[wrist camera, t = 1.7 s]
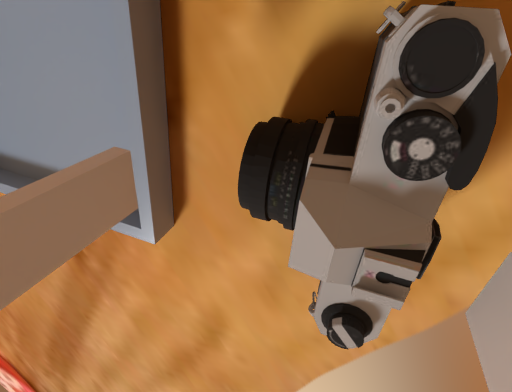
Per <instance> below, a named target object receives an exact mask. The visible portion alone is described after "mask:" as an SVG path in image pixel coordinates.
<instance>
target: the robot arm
mask: <svg viewBox="0 0 512 392" xmlns="http://www.w3.org/2000/svg"><path fill="white" fill-rule="evenodd" d="M136 209H138V202H137V195H136V188H135V181H134V174H133V166H132V159H131V152H130V150H126V149H122V148H118V147H112V148H110V149H108V150H106V151H103V152H101V153H99V154H97V155H94V156H92V157H90V158H87V159H85V160H83V161H81V162H78V163H76V164H74V165H72V166H69V167H67V168H65V169H63V170H60V171H58V172H56V173H54V174H51V175H49V176H47V177H45V178H42V179H40V180H38V181H35V182H33V183H31V184H29V185H26V186H24V187H22V188H20V189H17V190H15V191H13V192H11V193H8V194H6V195H4V196H2V197H0V310H2V309H3V308H4V307H6V306H7V305H8V304H10V303H11V302H12V301H14V300H15V299H16V298H18V297H19V296H21V295H22V294H23V293H25V292H26V291H27V290H29V289H30V288H31V287H33V286H34V285H35V284H37V283H38V282H39V281H41V280H42V279H43V278H45V277H46V276H47V275H49V274H50V273H52V272H53V271H54V270H56V269H57V268H58V267H60V266H61V265H62V264H64V263H65V262H66V261H68V260H69V259H70V258H72V257H73V256H74V255H76V254H77V253H78V252H80V251H81V250H83V249H84V248H85V247H87V246H88V245H89V244H91V243H92V242H93V241H95V240H96V239H97V238H99V237H100V236H101V235H103V234H104V233H105V232H107V231H108V230H109V229H111V228H112V227H114V226H115V225H116V224H118V223H119V222H120V221H122V220H123V219H124V218H126V217H127V216H128V215H130V214H131V213H132V212H134V211H135V210H136ZM465 314H466V317H467V320H468V324H469V327H470V330H471V334H472V337H473V340H474V343H475V347H476V350H477V353H478V356H479V360H480V363H481V366H482V369H483V373H484V376H485V379H486V383H487V386H488V389H489V392H512V252H510V253H509V255H508V256H507V257H506V259H505V260H504V261H503V263H502V264H501V266H500V267H499V268H498V270H497V271H496V272H495V274H494V275H493V276H492V278H491V279H490V280H489V282H488V283H487V284H486V286H485V287H484V288H483V290H482V291H481V292H480V294H479V295H478V297H477V298H476V299H475V301H474V302H473V303H472V305H471V306H470V307H469V309H468V310H467V311H466V313H465Z"/></svg>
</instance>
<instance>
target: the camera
mask: <svg viewBox="0 0 512 392" xmlns="http://www.w3.org/2000/svg"><path fill="white" fill-rule="evenodd" d="M405 3H406V2H404V1H403V2H402V3H401V4H400V5H399V6H398V7H397V8H396V10H395V9H394V8H393V7H391V6H389V7H388V8H387V9H386V10H385V12H384V13H383V14H384V15H385V16H386V18H387V19H386V21H385V22H384V23H383V24H382V25H381V26H380V27H379V29H378V30H377V32H376V33H378V34H379V33H380V32H381V31H382V30H383V29H384V28H385V26H386V25H387V24H388V23H389V22H390V21H391V24H390V25H389V26H388V27H387V28H386V29H385V31H384V32H383V33H382V34H381V35H380V36H379V40H378V44H377V48H376V52H375V56H374V60H373V64H372V68H371V72H370V76H369V79H368V83H367V87H366V91H365V95H364V99H363V103H362V107H361V111H360V115H359V117H356V116H335V113H334V110H333V111H331V114H328V117H326V119H327V120H326V122H325V124H322V123H318V120H311V119H308V120H307V121H306V123H304V122H301V123H300V124H298V123H292V121H291V119H286V118H280V117H272V118H271V119H270V120H269V121H268V123H267V122H258V123H257V124H256V125H255V127H254V128H253V130H252V131H251V133H250V135H249V138H248V140H247V143H246V146H245V149H244V152H243V156H242V161H241V166H240V171H239V180H238V197H239V202H240V205H241V207H242V208H245V209H249V210H250V214H251V216H252V217H254V218H258V219H262V220H266V221H270V220H271V219H273V220H277V221H278V222H279V223H281V224H283V227H284V228H285V229H289V230H294V229H295V230H294V235H293V241H292V247H291V253H290V258H289V264H288V267H290V268H293V269H295V270H298V271H300V272H302V273H305V274H307V275H310V276H312V277H314V278H317V279H319V280H320V284H319V288H318V293H317V294H318V297H316V299H317V300H316V302H314V294H315V296H316V293H315V292H313V303H312V304H311V305H310V306H309V308H308V309H309V312H310V314H311V315H312V316H314V319H315V321H316V324H317V326H318V328H319V330H320V332H321V334H323V335H326V336H327V337H328V339H329V340H330V341H331V342H332V343H333V344H335V345H336V346H338V347H341V348H344V349H348V348H356V347H358V348H359V347H361V346H362V345H363V343H366V342H368V341H371V340H373V339H376V338H378V336H379V334H380V331H381V329H382V327H383V325H384V323H385V321H386V319H387V317H388V314H389V312H390V310H391V308H394V309H397V310H400V309H401V307H402V305H403V303H404V301H405V299H406V297H407V295H408V293H409V291H410V286H411V284H412V282H414V281H415V279H416V278H417V279H421V277H422V275H423V273H424V272H425V270H426V268H427V266H428V264H429V263H430V261H431V259H432V257H433V255H434V252H435V250H436V248H437V246H438V244H439V242H440V240H441V233H440V228H439V224H438V223H437V221H436V220H435V219H434V217H435V215H436V213H437V211H438V208H439V206H440V204H441V202H442V200H443V198H444V196H445V194H446V191H447V189H448V187H449V188H450V189H453V190H461V189H463V188H464V187H466V186H467V185H468V184H469V183H470V181H471V180H472V178H473V177H474V175H475V174H476V172H477V171H478V169H479V166H480V164H481V162H482V160H483V158H484V156H485V153H486V151H487V148H488V145H489V142H490V139H491V136H492V133H493V130H494V127H495V124H496V116H497V103H498V93H497V83H498V81H499V79H500V77H501V75H502V73H503V71H504V69H505V66H506V64H507V62H508V60H509V58H510V56H511V51H510V48H509V44H508V40H507V37H506V33H505V29H504V26H503V22H502V19H501V15H500V11H499V9H489V8H472V7H455V3H456V2H455V1H446V2H444V3H441V4H438V5H419V6H412V7H411V8H410V10H409V11H407V12H405V13H403V14H400V13H398V11H399V10H400V9H401V8H402V7H403V6H404V5H405ZM313 309H315V310H313Z"/></svg>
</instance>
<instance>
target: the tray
mask: <svg viewBox="0 0 512 392" xmlns="http://www.w3.org/2000/svg"><path fill="white" fill-rule="evenodd" d="M112 147H118V148H122V149H126V150H130V152H131V159H132V166H133V174H134V181H135V188H136V195H137V202H138V209H136V210H135V211H134V212H132V213H131V214H130V215H128V216H127V217H126V218H124V219H123V220H122V221H120V222H119V223H118V224H116V225H115V226H114V227H112V228H111V230H114V231H117V232H120V233H123V234H126V235H129V236H132V237H135V238H138V239H141V240H144V241H147V242H150V243H153V244H156V243H157V242H158V241H159V240H160V239H161V238H162V237H163V236H164V235H165V234H166V233H167V232H168V231H169V230H170V229H171V228H172V227H173V226H174V216H173V200H172V184H171V168H170V152H169V136H168V121H167V105H166V89H165V73H164V57H163V41H162V25H161V9H160V0H0V192H1V193H4V194H8V193H11V192H13V191H15V190H17V189H20V188H22V187H24V186H26V185H29V184H31V183H33V182H35V181H38V180H40V179H42V178H45V177H47V176H49V175H51V174H54V173H56V172H58V171H60V170H63V169H65V168H67V167H69V166H72V165H74V164H76V163H78V162H81V161H83V160H85V159H87V158H90V157H92V156H94V155H97V154H99V153H101V152H103V151H106V150H108V149H110V148H112Z"/></svg>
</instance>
